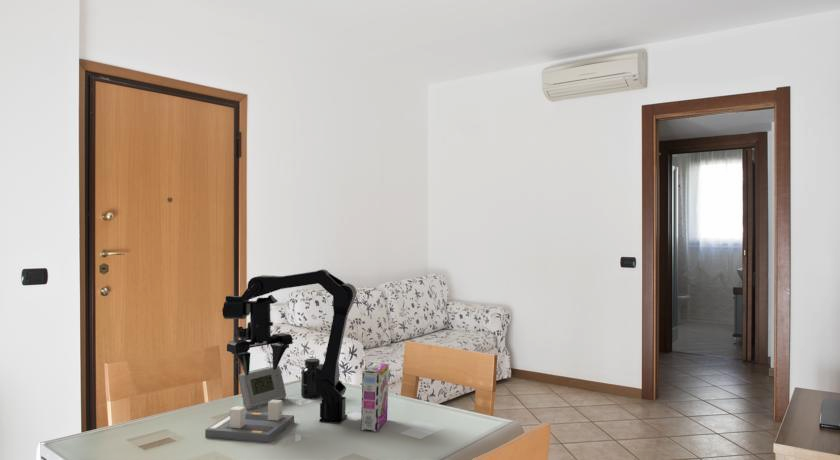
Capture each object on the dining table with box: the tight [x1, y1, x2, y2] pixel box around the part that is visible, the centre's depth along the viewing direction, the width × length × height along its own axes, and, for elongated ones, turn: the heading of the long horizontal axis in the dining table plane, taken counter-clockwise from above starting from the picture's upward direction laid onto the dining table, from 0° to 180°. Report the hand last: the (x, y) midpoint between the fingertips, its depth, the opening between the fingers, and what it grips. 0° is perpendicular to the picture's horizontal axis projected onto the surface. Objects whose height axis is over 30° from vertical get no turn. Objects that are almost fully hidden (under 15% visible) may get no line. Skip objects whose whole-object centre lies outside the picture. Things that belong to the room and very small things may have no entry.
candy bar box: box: [360, 362, 390, 433], centre depth 160 cm, size 11×5×16 cm, turn 168°
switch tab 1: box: [229, 405, 247, 428], centre depth 152 cm, size 3×3×5 cm
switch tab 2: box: [267, 399, 283, 420], centre depth 158 cm, size 3×3×5 cm
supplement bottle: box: [300, 358, 321, 400], centre depth 188 cm, size 7×7×12 cm
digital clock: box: [238, 365, 287, 410], centre depth 180 cm, size 16×9×11 cm, turn 134°
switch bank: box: [204, 411, 295, 444], centre depth 155 cm, size 18×16×2 cm
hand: (261, 372), depth 166 cm, fingers open, 9 cm apart
